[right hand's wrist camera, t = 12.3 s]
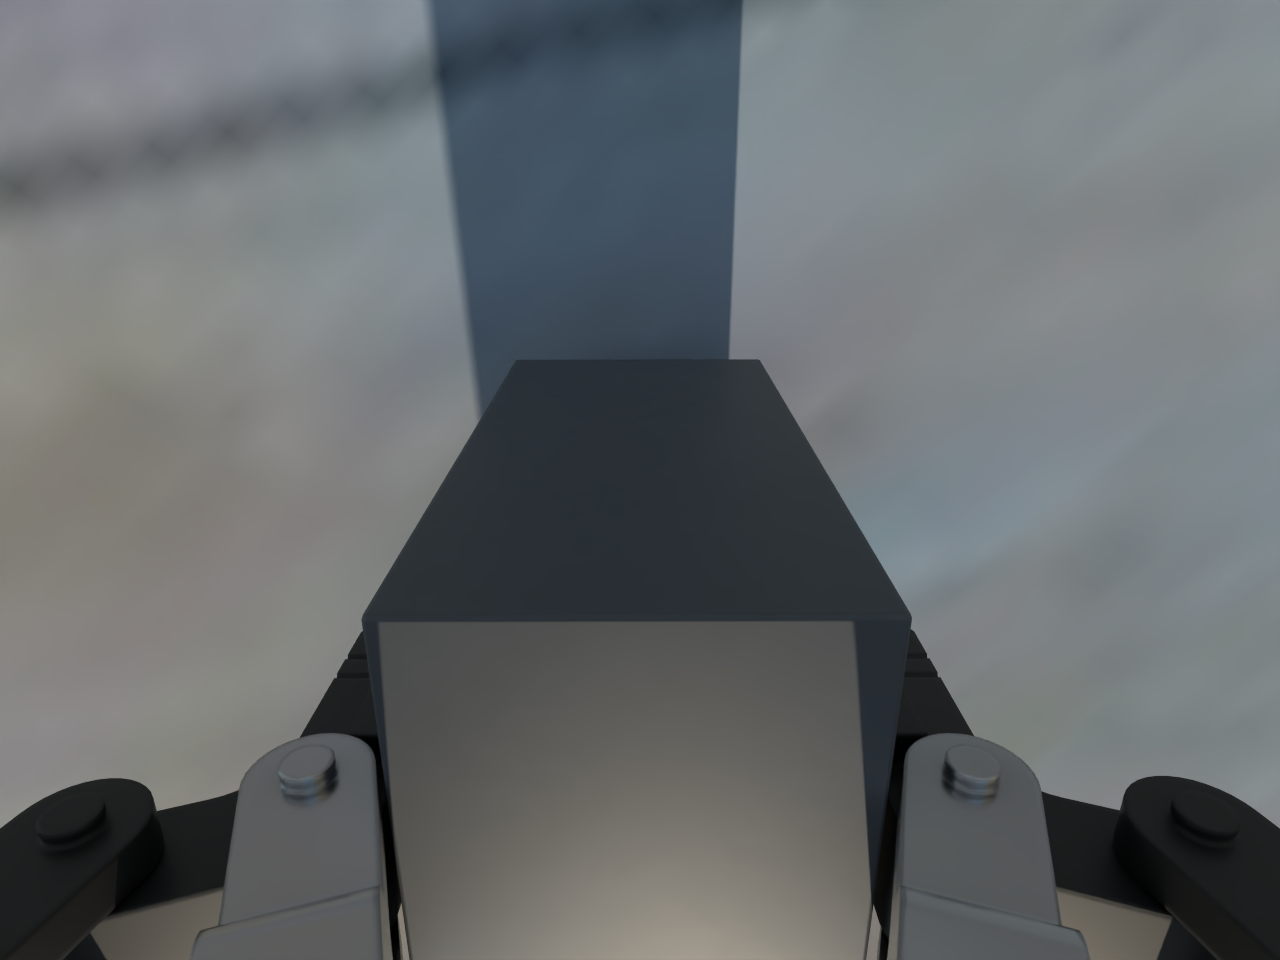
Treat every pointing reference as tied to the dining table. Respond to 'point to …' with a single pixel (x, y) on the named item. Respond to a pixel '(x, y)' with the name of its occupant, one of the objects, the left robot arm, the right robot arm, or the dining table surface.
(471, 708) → the bar
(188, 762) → the dining table surface
